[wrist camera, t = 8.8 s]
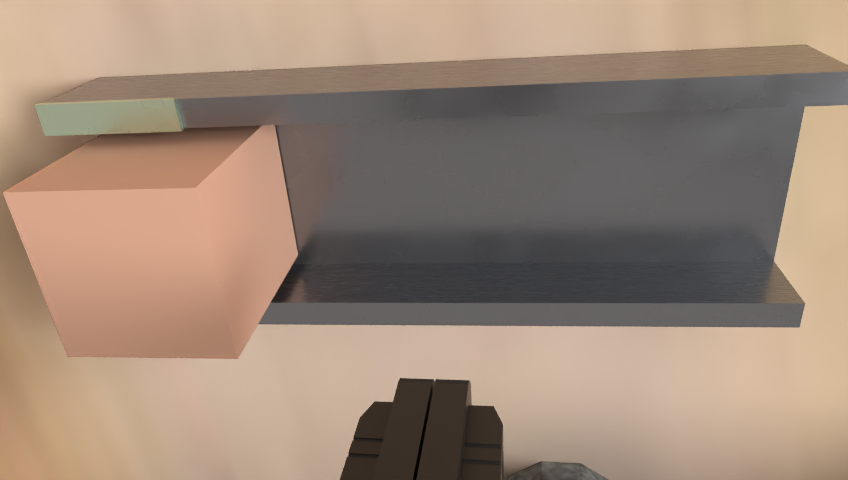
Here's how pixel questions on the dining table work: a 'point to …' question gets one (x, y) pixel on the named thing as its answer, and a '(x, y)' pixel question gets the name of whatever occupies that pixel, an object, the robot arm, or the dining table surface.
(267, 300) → the terracotta block
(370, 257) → the chute
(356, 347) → the dining table surface
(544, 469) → the mortar and pestle
